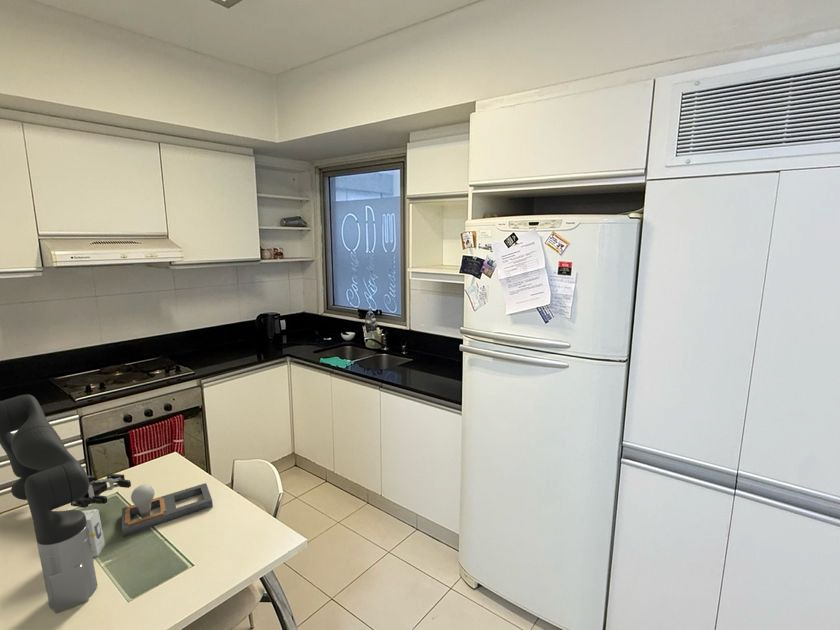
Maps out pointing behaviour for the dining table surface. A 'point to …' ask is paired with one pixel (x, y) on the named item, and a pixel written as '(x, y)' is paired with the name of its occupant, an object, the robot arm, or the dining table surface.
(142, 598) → the dining table surface
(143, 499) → the lightbulb
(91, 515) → the ink box
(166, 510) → the rail
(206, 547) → the dining table surface
